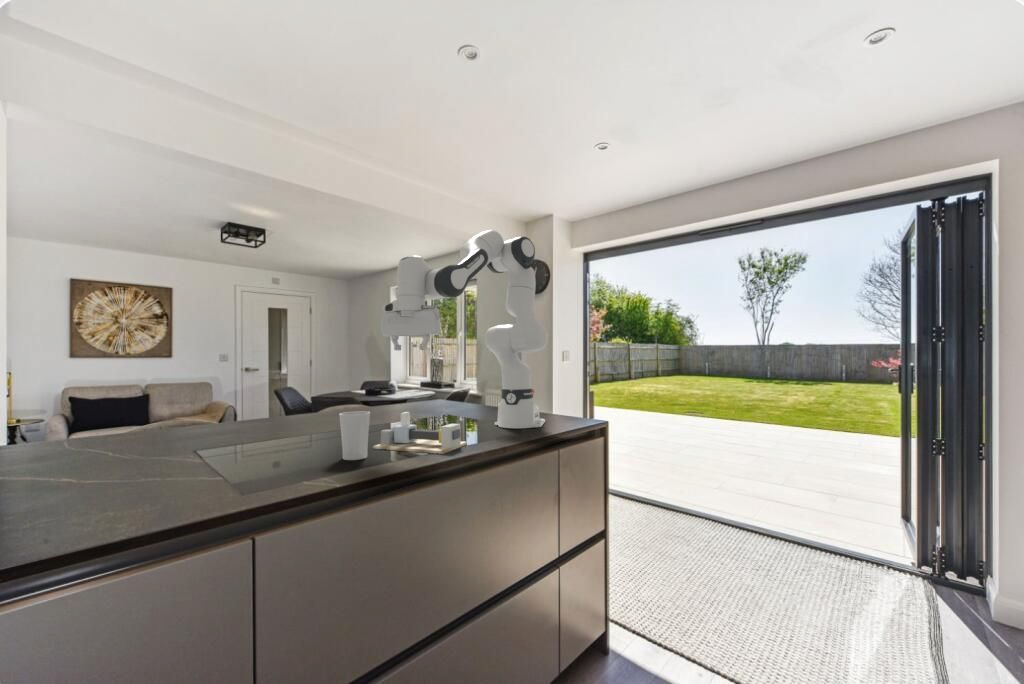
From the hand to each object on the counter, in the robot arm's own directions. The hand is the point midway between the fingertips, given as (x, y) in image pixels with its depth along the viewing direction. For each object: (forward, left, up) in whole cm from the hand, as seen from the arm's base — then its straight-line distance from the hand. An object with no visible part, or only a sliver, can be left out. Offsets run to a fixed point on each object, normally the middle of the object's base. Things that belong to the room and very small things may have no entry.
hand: (410, 350), depth 140 cm
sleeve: (+3, 0, -28) cm, 28 cm away
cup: (+21, -3, -29) cm, 36 cm away
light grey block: (+3, -4, -29) cm, 30 cm away
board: (+3, +6, -29) cm, 30 cm away
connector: (+3, +16, -29) cm, 33 cm away
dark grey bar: (+3, +5, -27) cm, 28 cm away
